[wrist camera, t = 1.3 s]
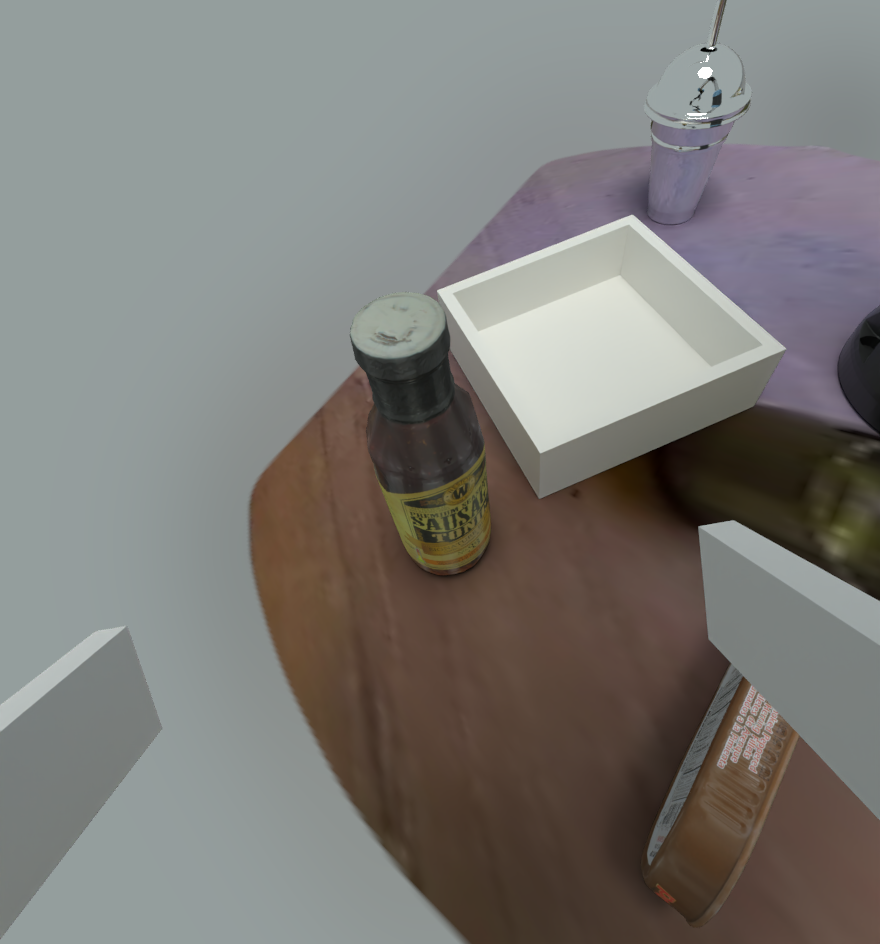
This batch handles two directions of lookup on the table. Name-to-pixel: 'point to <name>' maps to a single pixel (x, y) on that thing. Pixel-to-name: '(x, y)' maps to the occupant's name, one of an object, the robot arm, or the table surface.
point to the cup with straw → (692, 122)
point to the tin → (718, 800)
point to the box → (603, 351)
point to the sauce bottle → (423, 433)
